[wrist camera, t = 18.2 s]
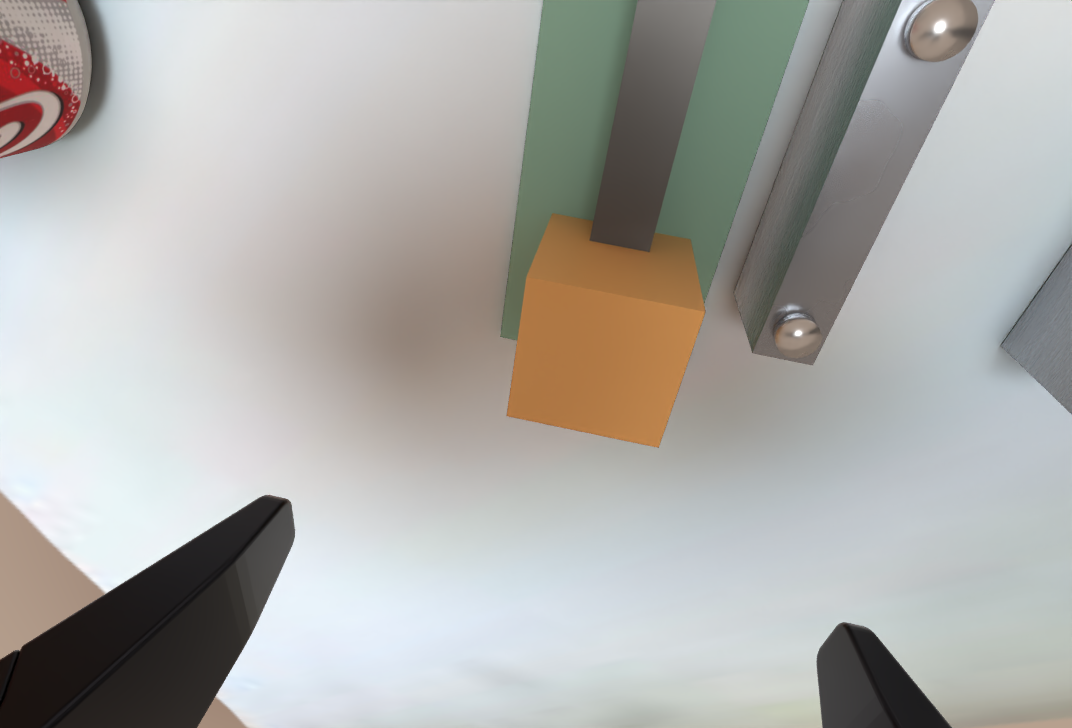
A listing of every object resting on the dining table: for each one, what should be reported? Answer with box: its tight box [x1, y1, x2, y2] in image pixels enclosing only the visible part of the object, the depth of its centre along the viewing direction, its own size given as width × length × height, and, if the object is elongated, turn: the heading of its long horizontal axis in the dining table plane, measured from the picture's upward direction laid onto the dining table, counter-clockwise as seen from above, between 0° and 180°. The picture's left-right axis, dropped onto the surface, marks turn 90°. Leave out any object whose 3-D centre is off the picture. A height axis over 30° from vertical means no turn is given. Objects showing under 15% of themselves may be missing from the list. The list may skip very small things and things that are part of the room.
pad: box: [500, 0, 809, 340], centre depth 16 cm, size 6×12×1 cm, turn 171°
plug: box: [507, 0, 717, 448], centre depth 13 cm, size 12×4×4 cm, turn 171°
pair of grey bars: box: [734, 0, 1072, 414], centre depth 13 cm, size 9×8×4 cm
